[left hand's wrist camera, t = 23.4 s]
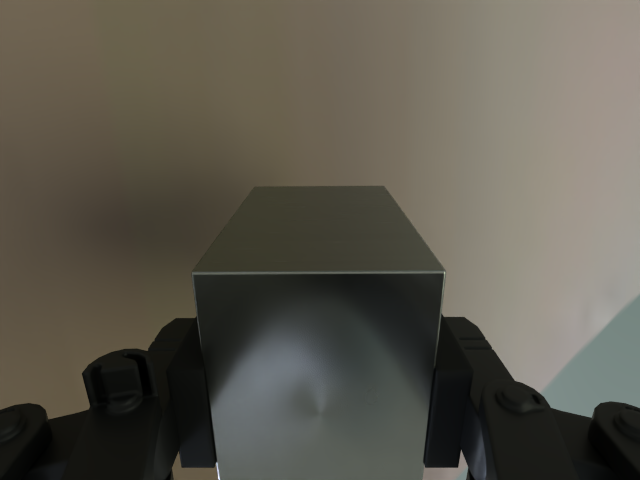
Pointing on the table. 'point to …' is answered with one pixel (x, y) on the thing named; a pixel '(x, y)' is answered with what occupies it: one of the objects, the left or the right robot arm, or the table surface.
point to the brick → (319, 336)
